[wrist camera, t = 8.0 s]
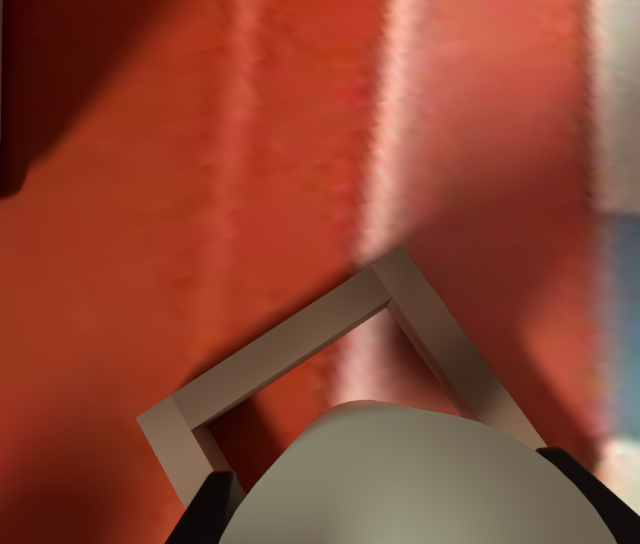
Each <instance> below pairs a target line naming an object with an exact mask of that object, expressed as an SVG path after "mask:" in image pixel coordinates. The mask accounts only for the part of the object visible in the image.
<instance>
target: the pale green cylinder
mask: <svg viewBox="0 0 640 544" xmlns="http://www.w3.org/2000/svg"><path fill="white" fill-rule="evenodd" d="M219 544H617V542H616V540H615V538H614V536H613V535H612V533H611V532H610V530H609V529H608V527H607V526H606V524H605V523H604V521H603V520H602V518H601V517H600V515H599V514H598V512H597V511H596V509H595V508H594V507H593V506H592V504H591V503H590V502H589V501H588V500H587V498H586V497H585V496H584V495H583V494H582V493H581V491H580V490H579V489H578V488H577V487H576V485H575V484H574V483H572V482H571V481H570V480H569V479H568V478H567V477H566V476H565V475H564V474H563V473H562V472H561V471H560V470H559V469H558V468H557V467H555V466H554V465H553V464H552V463H551V462H549V461H548V460H547V459H545V458H544V457H543V456H541V455H540V454H538V453H537V452H536V451H534V450H533V449H532V448H530V447H529V446H527V445H525V444H524V443H522V442H520V441H518V440H516V439H515V438H513V437H511V436H509V435H508V434H506V433H504V432H502V431H499V430H497V429H494V428H492V427H489V426H487V425H485V424H482V423H480V422H477V421H473V420H469V419H466V418H462V417H458V416H454V415H450V414H445V413H440V412H434V411H429V410H424V409H418V408H413V407H408V406H402V405H397V404H392V403H386V402H381V401H373V400H357V401H350V402H346V403H342V404H339V405H337V406H334V407H332V408H330V409H328V410H326V411H325V412H323V413H321V414H320V415H318V416H317V417H316V418H315V419H313V420H312V421H311V422H310V423H309V424H308V425H307V426H306V427H305V428H304V429H303V431H302V432H301V433H300V434H299V435H298V436H297V437H296V439H295V440H294V441H293V442H292V443H291V444H290V445H289V447H288V448H287V449H286V450H285V451H284V452H283V453H282V455H281V456H280V457H279V458H278V459H277V460H276V461H275V463H274V464H273V465H272V466H271V467H270V468H269V469H268V471H267V472H266V473H265V474H264V475H263V476H262V477H261V479H260V480H259V481H258V482H257V483H256V484H255V485H254V487H253V488H252V489H251V491H250V492H249V493H248V495H247V496H246V498H245V499H244V500H243V502H242V503H241V504H240V506H239V507H238V508H237V510H236V512H235V513H234V515H233V517H232V519H231V520H230V522H229V524H228V526H227V528H226V529H225V531H224V533H223V535H222V537H221V539H220V542H219Z"/></svg>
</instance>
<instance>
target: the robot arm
mask: <svg viewBox="0 0 640 544" xmlns="http://www.w3.org/2000/svg"><path fill="white" fill-rule="evenodd" d="M535 451H536V452H537V453H538V454H540V455H541V456H543V457H544V458H545V459H547V460H548V461H549V462H551V463H552V464H553V465H554V466H555V467H557V468H558V469H559V470H560V471H561V472H562V473H563V474H564V475H565V476H566V477H567V478H568V479H569V480H570V481H571V482H572V483H574V484H575V485H576V487H577V488H578V489H579V490H580V491H581V493H582V494H583V495H584V496H585V497H586V498H587V500H588V501H589V502H590V503H591V504H592V506H593V507H594V508H595V509H596V511H597V512H598V514H599V515H600V517H601V518H602V520H603V521H604V523H605V524H606V526H607V527H608V529H609V530H610V532H611V533H612V535H613V536H614V538H615V540H616V542H617V544H640V516H639V515H638V514H637V513H636V512H634V511H633V510H632V509H631V508H630V507H629V506H628V505H626V504H625V503H624V502H623V501H622V500H621V499H620V498H619V497H617V496H616V495H615V494H614V493H613V492H612V491H611V490H610V489H608V488H607V487H606V486H605V485H604V484H603V483H602V482H601V481H599V480H598V479H597V478H596V477H595V476H594V475H593V474H591V473H590V472H589V471H588V470H587V469H586V468H585V467H584V466H582V465H581V464H580V463H579V462H578V461H577V460H576V459H575V458H573V457H572V456H571V455H570V454H569V453H568V452H567V451H565V450H564V449H562V448H560V447H542V448H537V449H536V450H535ZM242 502H243V501H242V496H241V492H240V487H239V483H238V479H237V475H236V473H235V471H234V470H217V471H212V472H211V473H210V474H209V475H208V476H207V477H206V479H205V481H204V482H203V484H202V485H201V487H200V488H199V490H198V492H197V493H196V495H195V496H194V498H193V499H192V501H191V503H190V504H189V506H188V507H187V509H186V510H185V512H184V514H183V515H182V517H181V518H180V520H179V521H178V523H177V525H176V526H175V528H174V529H173V531H172V532H171V534H170V536H169V537H168V539H167V540H166V542H165V543H164V544H219V542H220V539H221V537H222V535H223V533H224V531H225V529H226V528H227V526H228V524H229V522H230V520H231V519H232V517H233V515H234V513H235V512H236V510H237V508H238V507H239V506H240V504H241V503H242Z"/></svg>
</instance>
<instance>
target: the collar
mask: <svg viewBox="0 0 640 544" xmlns="http://www.w3.org/2000/svg"><path fill="white" fill-rule="evenodd" d="M385 308H387V309H388V310H389V312H390V313H391V315H392V316H393V318H394V319H395V321H396V322H397V323H398V325H399V326H400V328H401V329H402V331H403V332H404V334H405V335H406V336H407V338H408V339H409V341H410V342H411V344H412V345H413V347H414V348H415V349H416V351H417V352H418V354H419V355H420V357H421V358H422V360H423V361H424V362H425V364H426V365H427V367H428V368H429V370H430V371H431V373H432V374H433V375H434V377H435V378H436V380H437V381H438V383H439V384H440V386H441V387H442V388H443V390H444V391H445V393H446V394H447V396H448V397H449V399H450V400H451V401H452V403H453V404H454V406H455V407H456V409H457V410H458V412H459V413H460V414H461V416H462V417H463V418H466V419H469V420H473V421H477V422H480V423H482V424H485V425H487V426H489V427H492V428H494V429H497V430H499V431H502V432H504V433H506V434H508V435H509V436H511V437H513V438H515V439H516V440H518V441H520V442H522V443H524V444H525V445H527V446H529V447H530V448H532V449H533V450H534V451H535V450H536V449H537V448H542V447H547V445H546V444H545V443H544V441H543V440H542V438H541V437H540V436H539V434H538V433H537V432H536V430H535V429H534V427H533V426H532V425H531V423H530V422H529V420H528V419H527V418H526V416H525V415H524V414H523V412H522V411H521V409H520V408H519V407H518V405H517V404H516V402H515V401H514V400H513V398H512V397H511V395H510V394H509V393H508V391H507V390H506V389H505V387H504V386H503V384H502V383H501V382H500V380H499V379H498V377H497V376H496V375H495V373H494V372H493V371H492V369H491V368H490V366H489V365H488V364H487V362H486V361H485V359H484V358H483V357H482V355H481V354H480V352H479V351H478V350H477V348H476V347H475V346H474V344H473V343H472V341H471V340H470V339H469V337H468V336H467V334H466V333H465V332H464V330H463V329H462V328H461V326H460V325H459V323H458V322H457V321H456V319H455V318H454V316H453V315H452V314H451V312H450V311H449V309H448V308H447V307H446V305H445V304H444V303H443V301H442V300H441V298H440V297H439V296H438V294H437V293H436V291H435V290H434V289H433V287H432V286H431V285H430V283H429V282H428V280H427V279H426V278H425V276H424V275H423V273H422V272H421V271H420V269H419V268H418V266H417V265H416V264H415V262H414V261H413V260H412V258H411V257H410V255H409V254H408V253H407V251H406V250H405V248H404V247H403V246H402V245H401V246H399V247H398V248H396V249H395V250H393V251H392V252H390V253H389V254H387V255H386V256H384V257H382V258H381V259H379V260H378V261H376V262H375V263H373V264H372V265H370V266H369V267H367V268H366V269H364V270H362V271H361V272H359V273H358V274H356V275H355V276H353V277H352V278H350V279H349V280H347V281H346V282H344V283H342V284H341V285H339V286H338V287H336V288H335V289H333V290H332V291H330V292H329V293H327V294H326V295H324V296H322V297H321V298H319V299H318V300H316V301H315V302H313V303H312V304H310V305H309V306H307V307H306V308H304V309H302V310H301V311H299V312H298V313H296V314H295V315H293V316H292V317H290V318H289V319H287V320H285V321H284V322H282V323H281V324H279V325H278V326H276V327H275V328H273V329H272V330H270V331H269V332H267V333H265V334H264V335H262V336H261V337H259V338H258V339H256V340H255V341H253V342H252V343H250V344H249V345H247V346H245V347H244V348H242V349H241V350H239V351H238V352H236V353H235V354H233V355H232V356H230V357H229V358H227V359H225V360H224V361H222V362H221V363H219V364H218V365H216V366H215V367H213V368H212V369H210V370H208V371H207V372H205V373H204V374H202V375H201V376H199V377H198V378H196V379H195V380H193V381H192V382H190V383H188V384H187V385H185V386H184V387H182V388H181V389H179V390H178V391H176V392H175V393H173V394H172V395H170V396H168V397H167V398H165V399H164V400H162V401H161V402H159V403H158V404H156V405H155V406H153V407H152V408H150V409H148V410H147V411H145V412H144V413H142V414H141V415H139V416H138V417H136V420H137V421H138V423H139V425H140V427H141V429H142V431H143V432H144V434H145V436H146V438H147V440H148V442H149V443H150V445H151V447H152V449H153V451H154V453H155V454H156V456H157V458H158V460H159V462H160V464H161V465H162V467H163V469H164V471H165V473H166V474H167V476H168V478H169V480H170V482H171V484H172V485H173V487H174V489H175V491H176V493H177V495H178V496H179V498H180V500H181V502H182V504H183V506H184V507H185V509H187V507H188V506H189V504H190V503H191V501H192V499H193V498H194V496H195V495H196V493H197V492H198V490H199V488H200V487H201V485H202V484H203V482H204V481H205V479H206V477H207V476H208V475H209V474H210V473H211V472H212V471H217V470H232V469H231V467H230V465H229V463H228V462H227V460H226V458H225V456H224V455H223V453H222V451H221V449H220V448H219V446H218V444H217V443H216V441H215V439H214V437H213V436H212V434H211V432H210V430H209V429H208V427H207V426H208V425H209V424H211V423H212V422H214V421H215V420H217V419H218V418H220V417H221V416H223V415H224V414H226V413H227V412H229V411H230V410H232V409H233V408H235V407H236V406H238V405H239V404H241V403H242V402H244V401H245V400H247V399H248V398H250V397H251V396H253V395H254V394H256V393H257V392H259V391H260V390H262V389H264V388H265V387H267V386H268V385H270V384H271V383H273V382H274V381H276V380H277V379H279V378H280V377H282V376H283V375H285V374H286V373H288V372H289V371H291V370H292V369H294V368H295V367H297V366H298V365H300V364H301V363H303V362H304V361H306V360H307V359H309V358H310V357H312V356H313V355H315V354H316V353H318V352H319V351H321V350H323V349H324V348H326V347H327V346H329V345H330V344H332V343H333V342H335V341H336V340H338V339H339V338H341V337H342V336H344V335H345V334H347V333H348V332H350V331H351V330H353V329H354V328H356V327H357V326H359V325H360V324H362V323H363V322H365V321H366V320H368V319H369V318H371V317H372V316H374V315H375V314H377V313H378V312H380V311H381V310H383V309H385ZM238 483H239V487H240V492H241V496H242V501H243V500H244V499H245V498H246V496H247V495H246V493H245V491H244V489H243V488H242V486H241V484H240V482H239V481H238Z"/></svg>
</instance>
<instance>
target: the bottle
mask: <svg viewBox="0 0 640 544" xmlns="http://www.w3.org/2000/svg"><path fill="white" fill-rule="evenodd" d="M2 8H3V0H0V140H1V74H2Z"/></svg>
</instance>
